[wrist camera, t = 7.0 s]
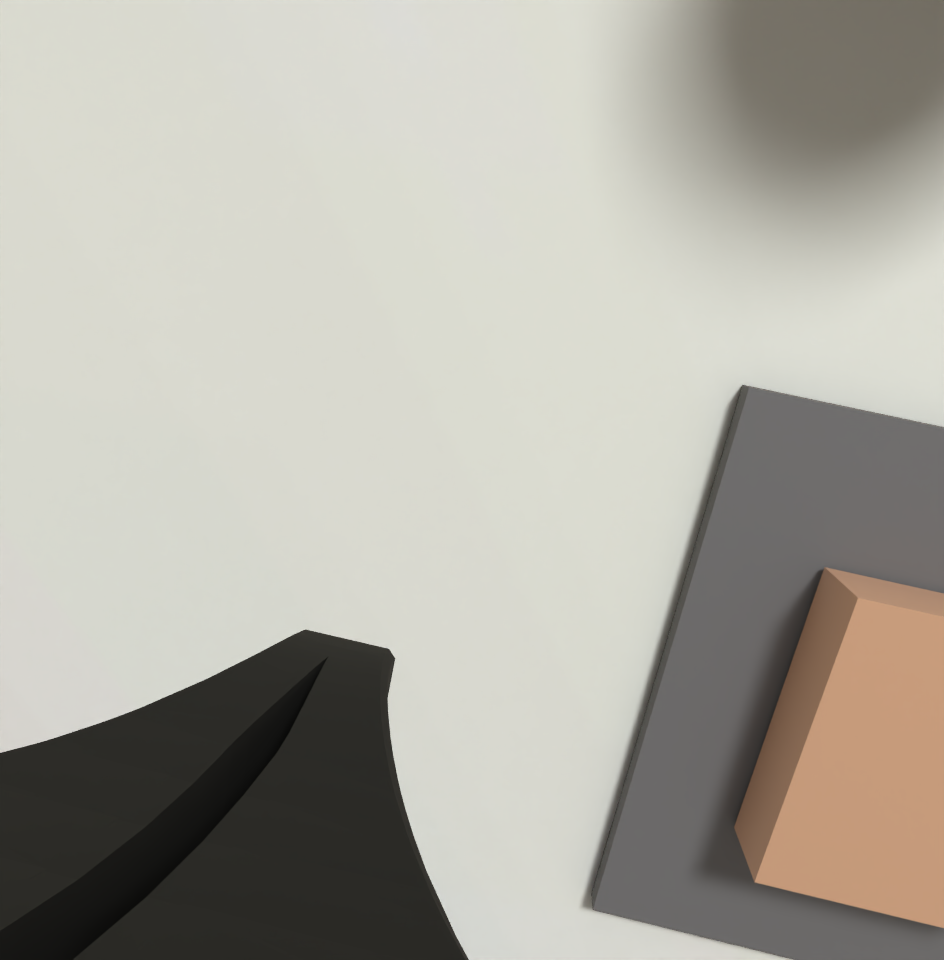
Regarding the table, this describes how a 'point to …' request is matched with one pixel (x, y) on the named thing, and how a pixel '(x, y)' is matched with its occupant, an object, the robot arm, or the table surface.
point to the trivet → (766, 668)
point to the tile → (856, 755)
